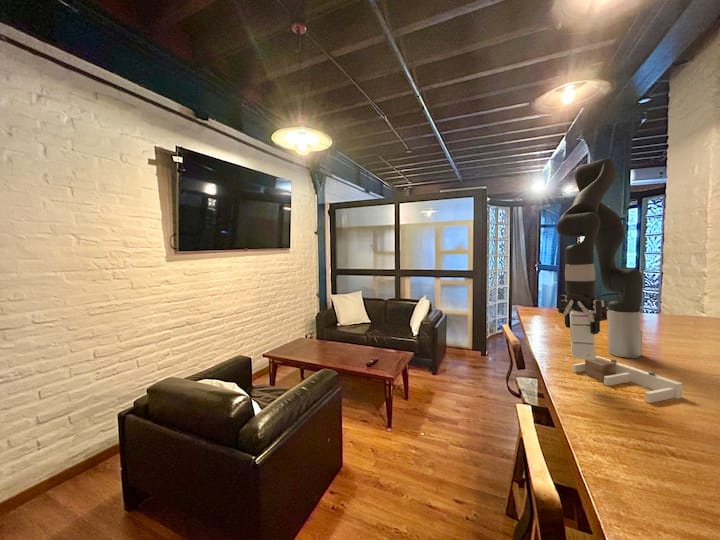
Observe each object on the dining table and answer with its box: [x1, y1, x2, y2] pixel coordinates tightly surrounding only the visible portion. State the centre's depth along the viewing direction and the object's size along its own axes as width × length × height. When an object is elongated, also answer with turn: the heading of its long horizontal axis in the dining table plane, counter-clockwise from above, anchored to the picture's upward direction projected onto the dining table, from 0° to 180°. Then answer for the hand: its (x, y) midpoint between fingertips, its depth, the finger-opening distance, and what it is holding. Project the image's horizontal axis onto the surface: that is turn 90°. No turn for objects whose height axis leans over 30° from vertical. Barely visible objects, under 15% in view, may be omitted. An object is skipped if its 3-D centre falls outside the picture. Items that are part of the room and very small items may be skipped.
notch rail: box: [572, 355, 683, 404], centre depth 91 cm, size 11×23×5 cm, turn 12°
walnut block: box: [584, 357, 616, 382], centre depth 96 cm, size 6×6×5 cm
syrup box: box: [569, 310, 596, 360], centre depth 92 cm, size 6×6×14 cm
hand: (581, 330), depth 92 cm, fingers closed on syrup box, 8 cm apart
